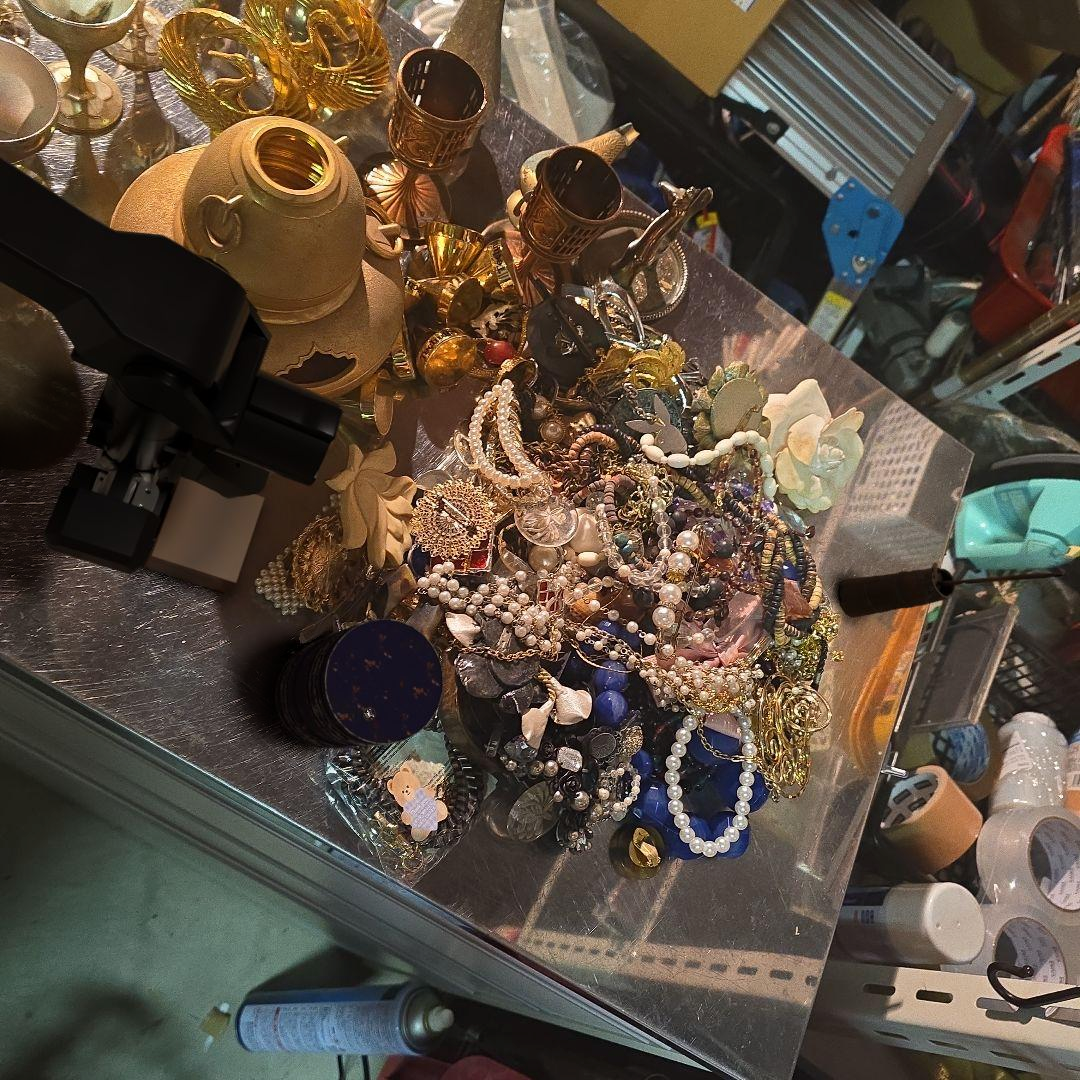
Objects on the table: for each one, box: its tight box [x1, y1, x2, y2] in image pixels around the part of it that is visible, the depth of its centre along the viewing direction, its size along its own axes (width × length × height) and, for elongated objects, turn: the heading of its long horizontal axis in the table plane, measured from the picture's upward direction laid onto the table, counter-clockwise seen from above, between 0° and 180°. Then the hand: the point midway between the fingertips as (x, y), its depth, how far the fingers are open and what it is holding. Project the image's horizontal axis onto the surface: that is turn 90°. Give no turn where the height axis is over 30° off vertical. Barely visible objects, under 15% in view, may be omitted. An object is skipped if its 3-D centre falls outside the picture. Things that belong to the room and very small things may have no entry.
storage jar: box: [275, 618, 445, 750], centre depth 75 cm, size 10×10×15 cm
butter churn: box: [839, 562, 1065, 618], centre depth 107 cm, size 9×10×28 cm
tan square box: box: [143, 476, 266, 594], centre depth 77 cm, size 7×8×5 cm
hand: (127, 467), depth 68 cm, fingers closed on planter, 4 cm apart
